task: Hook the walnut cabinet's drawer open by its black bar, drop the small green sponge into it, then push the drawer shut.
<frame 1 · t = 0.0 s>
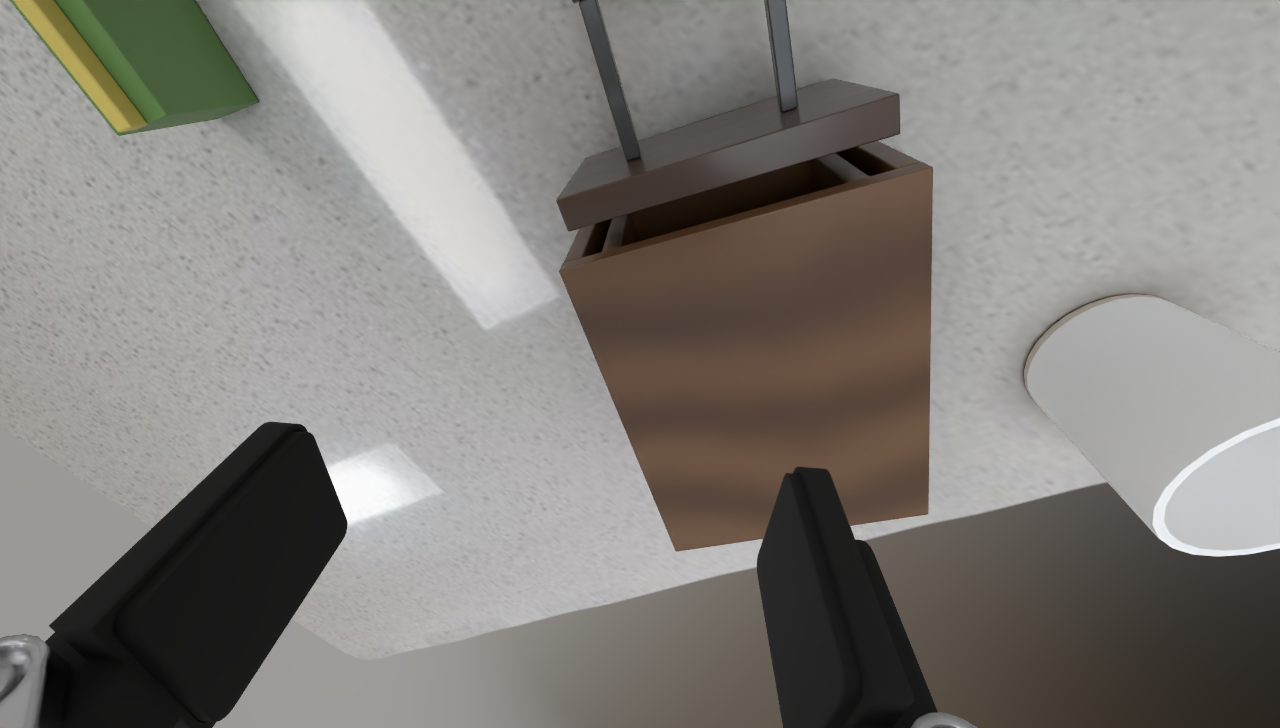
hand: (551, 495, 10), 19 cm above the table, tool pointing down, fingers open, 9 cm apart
mug: (1111, 356, 29), on the table
cabinet: (743, 311, 28), on the table
drawer: (730, 238, 21), point 5 cm above the table, slide at 1.0 cm
green sponge: (195, 45, 22), on the table
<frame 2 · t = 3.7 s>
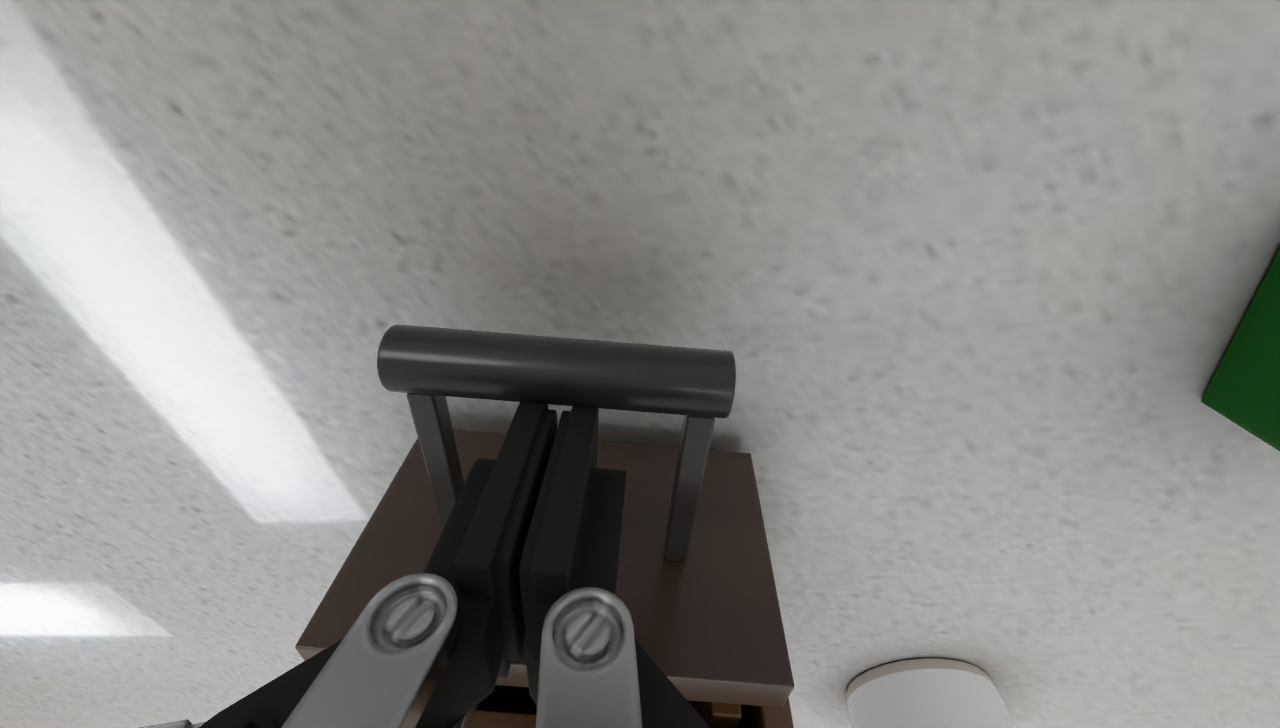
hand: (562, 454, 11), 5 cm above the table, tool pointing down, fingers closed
mug: (926, 690, 29), on the table
cabinet: (589, 585, 24), on the table
drawer: (572, 609, 17), point 5 cm above the table, slide at 1.2 cm, touching gripper
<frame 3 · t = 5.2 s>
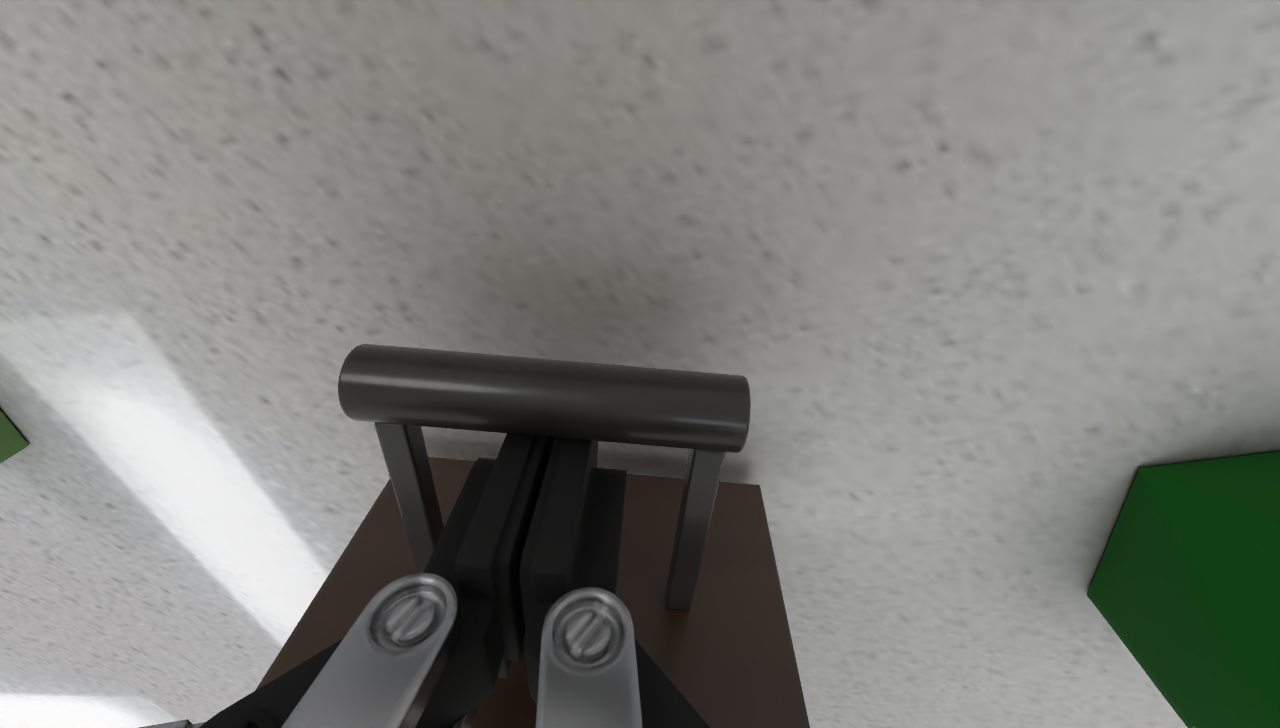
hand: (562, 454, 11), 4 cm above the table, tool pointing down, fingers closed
milk carton: (1218, 519, 17), on the table
drawer: (564, 658, 15), point 5 cm above the table, slide at 9.8 cm
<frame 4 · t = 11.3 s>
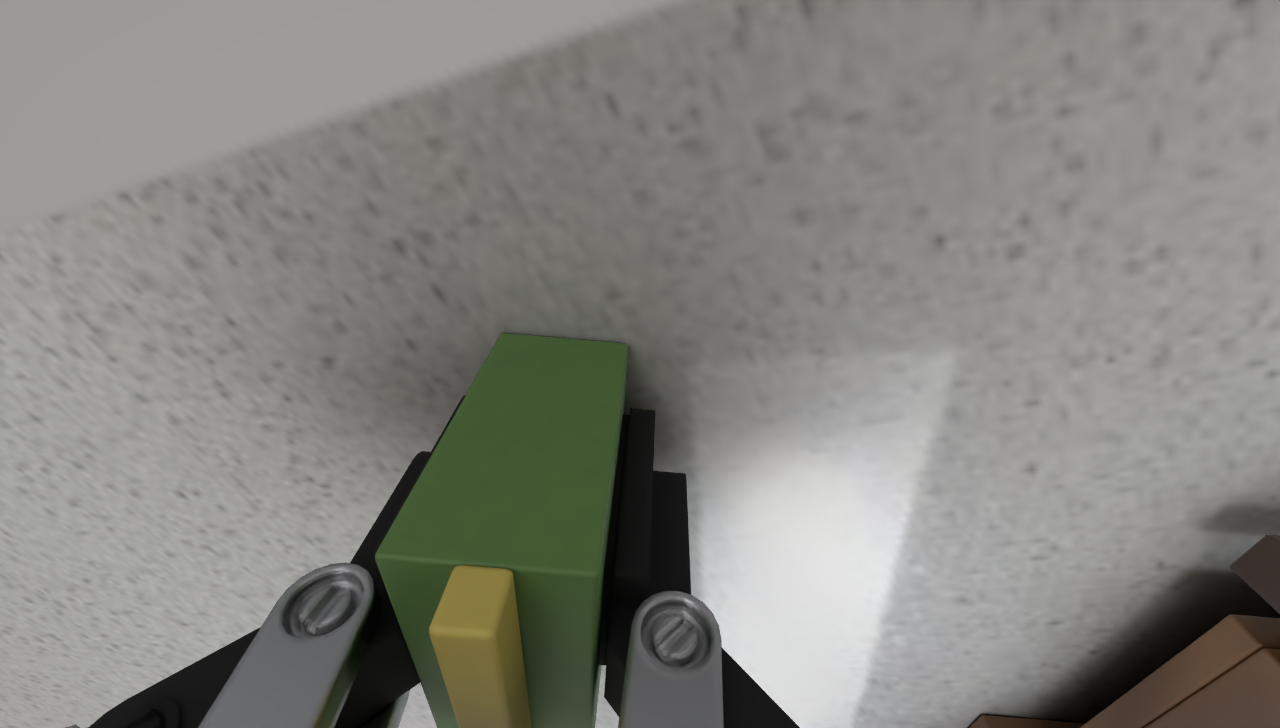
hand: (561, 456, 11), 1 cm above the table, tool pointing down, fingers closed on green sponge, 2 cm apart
green sponge: (566, 438, 11), on the table, touching gripper
when the fingers open (10 cm above the table, at t = 16.4 s): green sponge drops 8 cm, resting on drawer.
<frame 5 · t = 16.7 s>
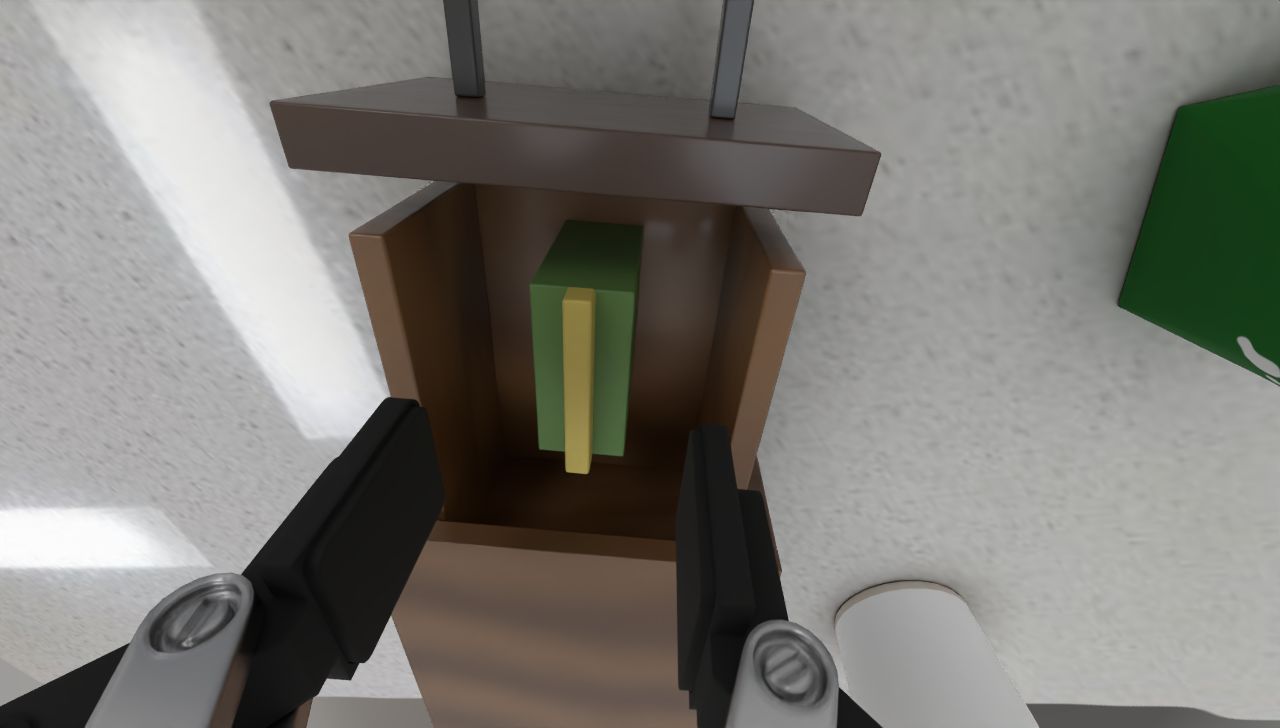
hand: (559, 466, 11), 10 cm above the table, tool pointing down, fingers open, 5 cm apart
milk carton: (1255, 190, 17), on the table
mug: (908, 619, 32), on the table
cabinet: (599, 502, 27), on the table
drawer: (594, 272, 15), point 5 cm above the table, slide at 10.2 cm, touching green sponge
green sponge: (602, 297, 18), point 2 cm above the table, touching drawer
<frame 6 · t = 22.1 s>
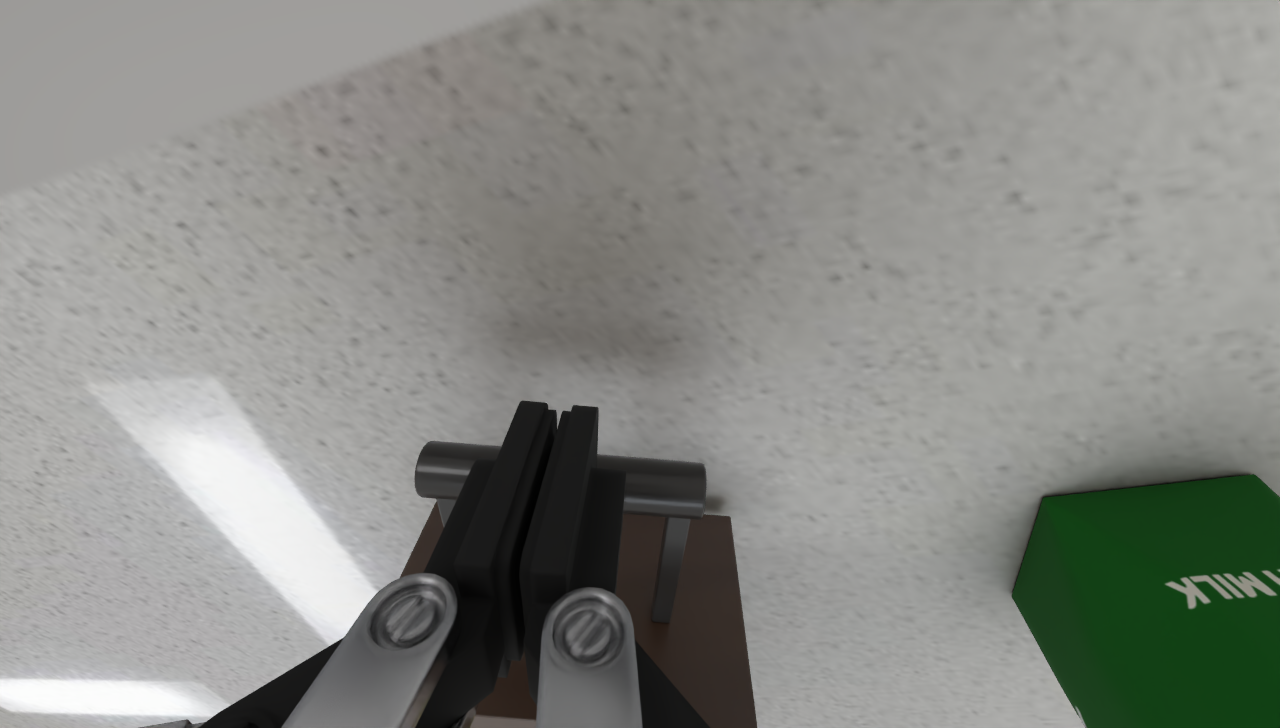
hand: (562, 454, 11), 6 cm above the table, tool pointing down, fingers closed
milk carton: (1114, 536, 21), on the table
drawer: (572, 656, 19), point 5 cm above the table, slide at 9.5 cm, touching green sponge, gripper
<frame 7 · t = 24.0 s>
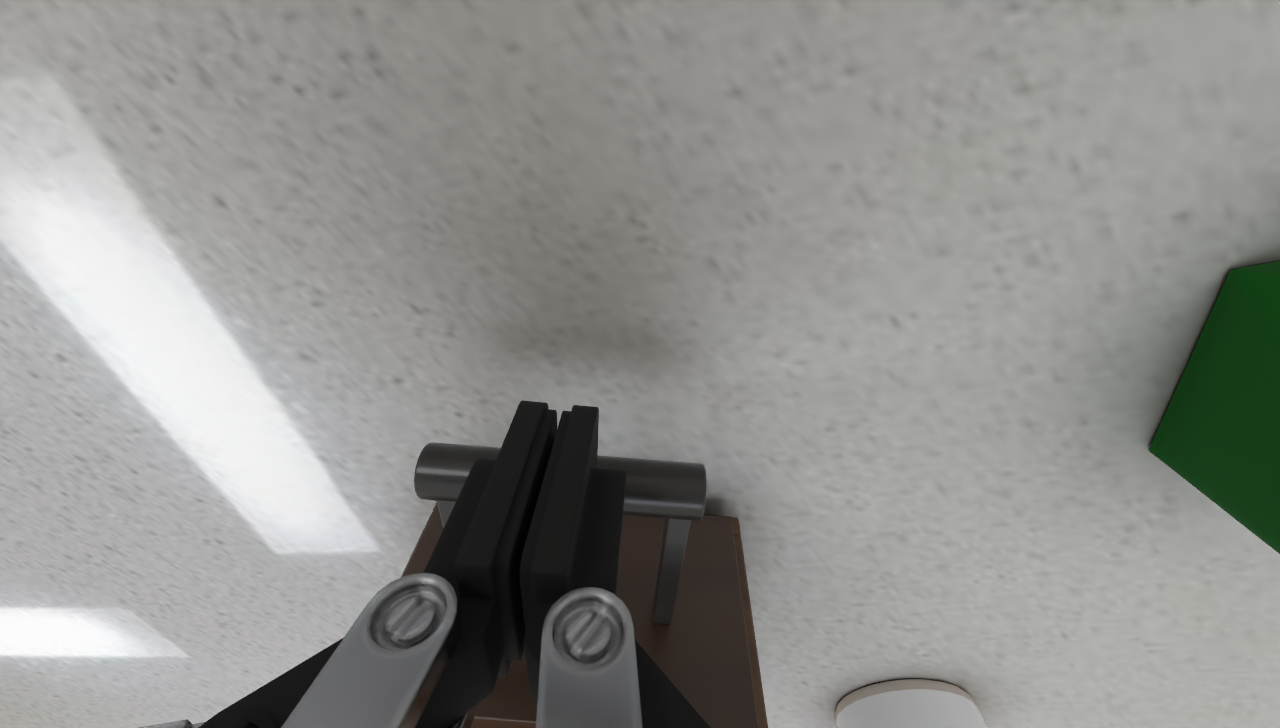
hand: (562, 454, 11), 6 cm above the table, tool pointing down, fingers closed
mug: (912, 708, 31), on the table
cabinet: (588, 611, 25), on the table
drawer: (573, 657, 19), point 5 cm above the table, slide at 0.0 cm, touching cabinet, green sponge, gripper
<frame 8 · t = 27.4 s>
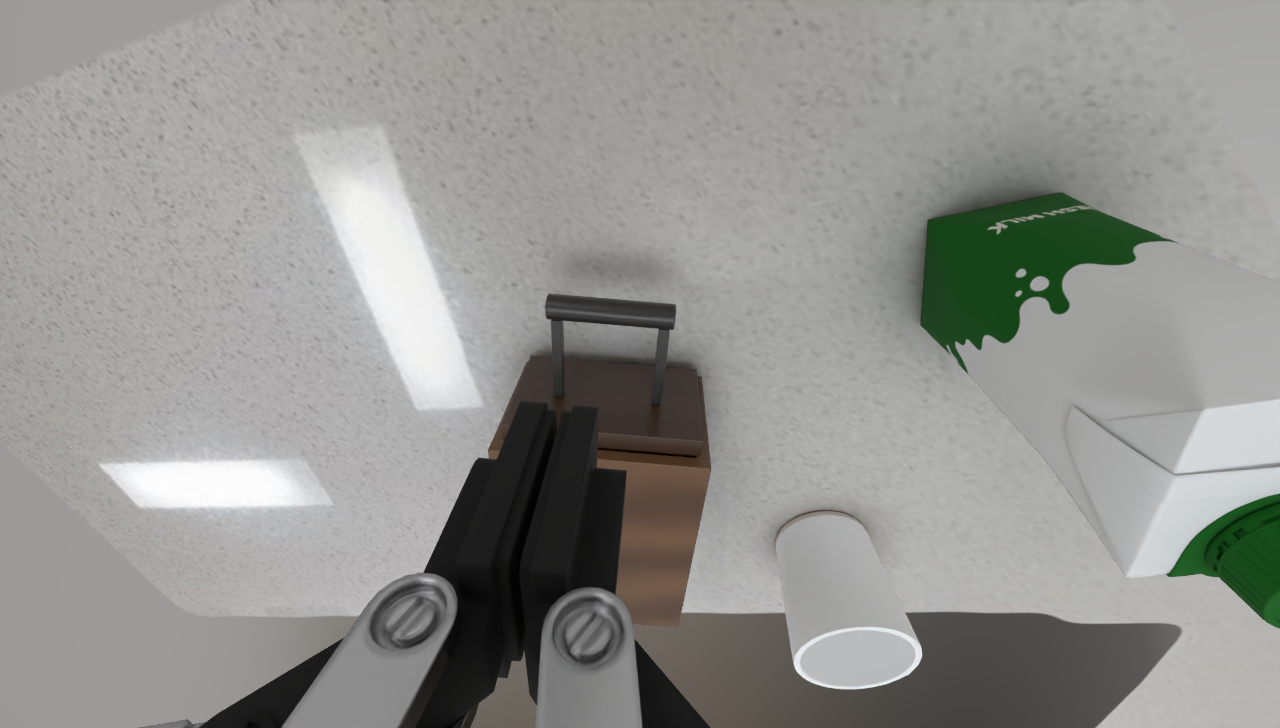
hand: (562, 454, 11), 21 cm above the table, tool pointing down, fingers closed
milk carton: (983, 261, 30), on the table
mug: (827, 542, 45), on the table
cabinet: (610, 454, 40), on the table
drawer: (606, 446, 33), point 5 cm above the table, slide at 0.0 cm, touching cabinet, green sponge
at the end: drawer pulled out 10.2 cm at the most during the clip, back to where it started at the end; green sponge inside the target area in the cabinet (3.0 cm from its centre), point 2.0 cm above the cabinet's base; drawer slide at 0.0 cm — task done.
